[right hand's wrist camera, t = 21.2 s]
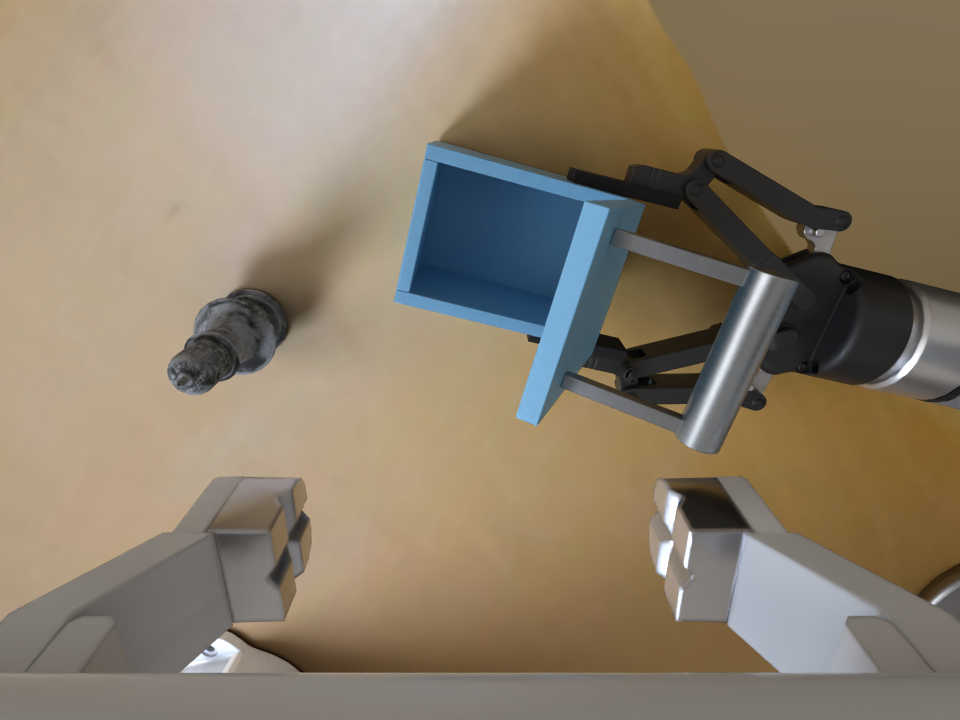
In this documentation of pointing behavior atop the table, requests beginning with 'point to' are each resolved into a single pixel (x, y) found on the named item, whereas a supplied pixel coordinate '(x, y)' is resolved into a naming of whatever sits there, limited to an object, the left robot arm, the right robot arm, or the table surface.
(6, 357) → the table surface
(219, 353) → the dark grey turned figure
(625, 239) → the lid
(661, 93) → the table surface
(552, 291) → the chest
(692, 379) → the left robot arm
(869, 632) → the right robot arm
